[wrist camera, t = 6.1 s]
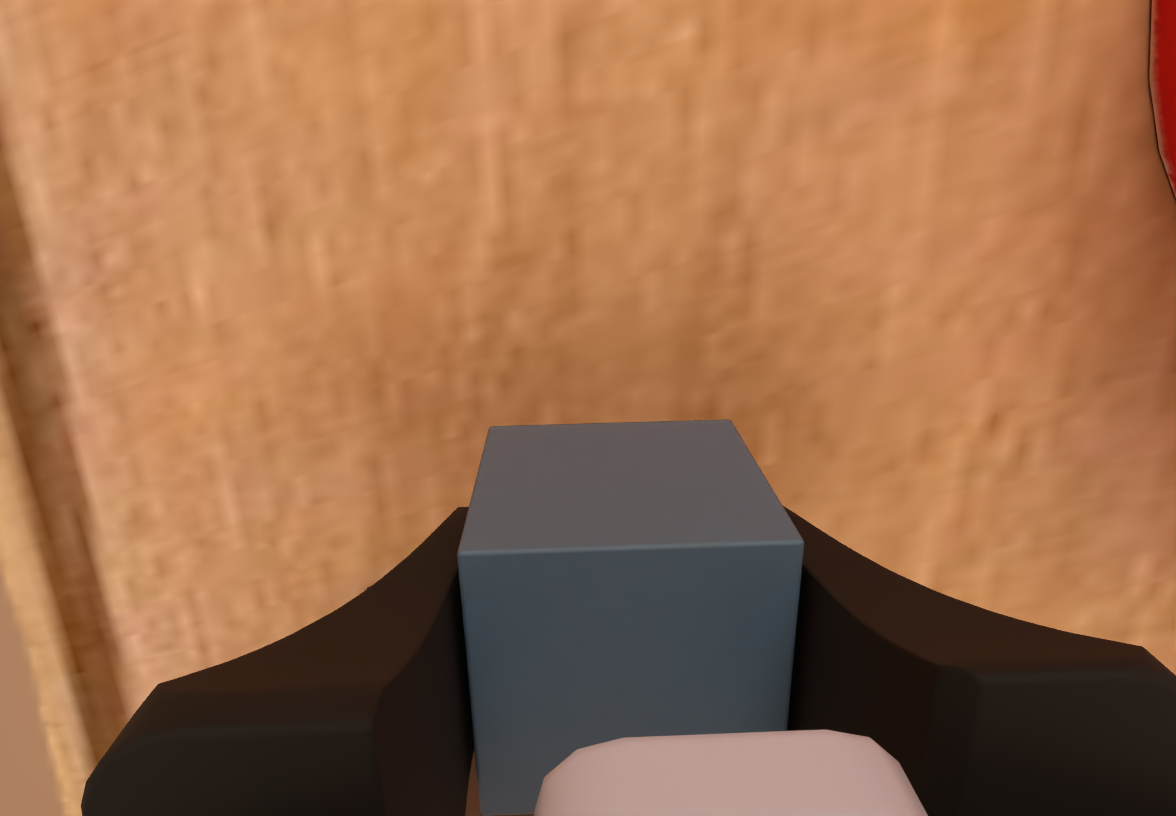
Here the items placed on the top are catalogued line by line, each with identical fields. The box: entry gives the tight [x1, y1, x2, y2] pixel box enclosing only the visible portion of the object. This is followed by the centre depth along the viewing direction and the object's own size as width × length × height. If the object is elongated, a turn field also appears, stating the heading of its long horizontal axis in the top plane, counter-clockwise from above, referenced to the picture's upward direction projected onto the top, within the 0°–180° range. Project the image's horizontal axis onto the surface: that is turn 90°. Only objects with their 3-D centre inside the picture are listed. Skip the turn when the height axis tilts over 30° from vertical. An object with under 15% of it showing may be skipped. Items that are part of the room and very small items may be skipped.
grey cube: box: [457, 420, 804, 816], centre depth 12 cm, size 4×4×4 cm
